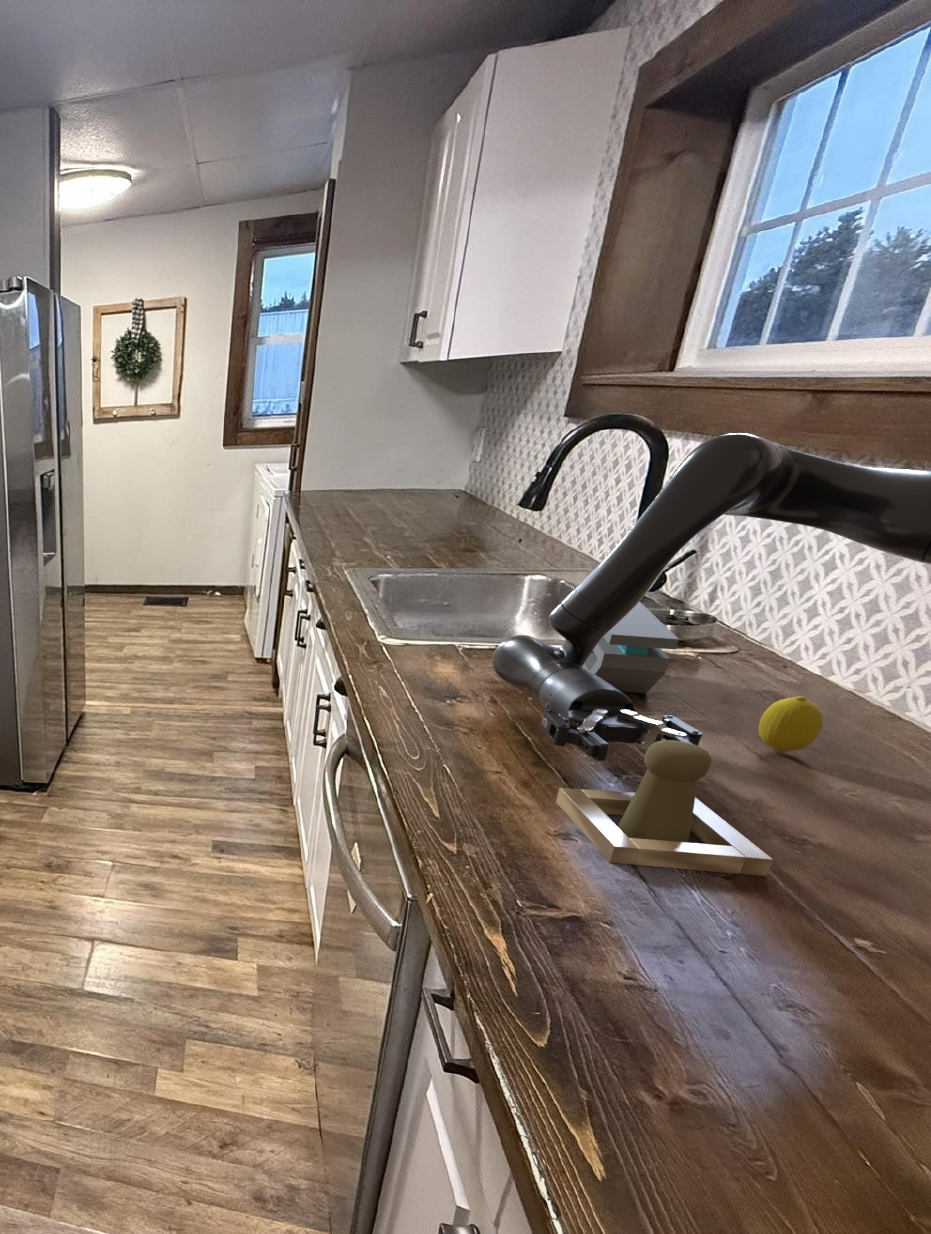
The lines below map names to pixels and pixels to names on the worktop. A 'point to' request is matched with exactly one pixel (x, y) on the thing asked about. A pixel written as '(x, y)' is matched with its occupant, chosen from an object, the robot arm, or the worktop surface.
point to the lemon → (790, 724)
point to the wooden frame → (716, 855)
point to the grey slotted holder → (633, 652)
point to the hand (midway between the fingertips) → (648, 756)
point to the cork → (666, 792)
